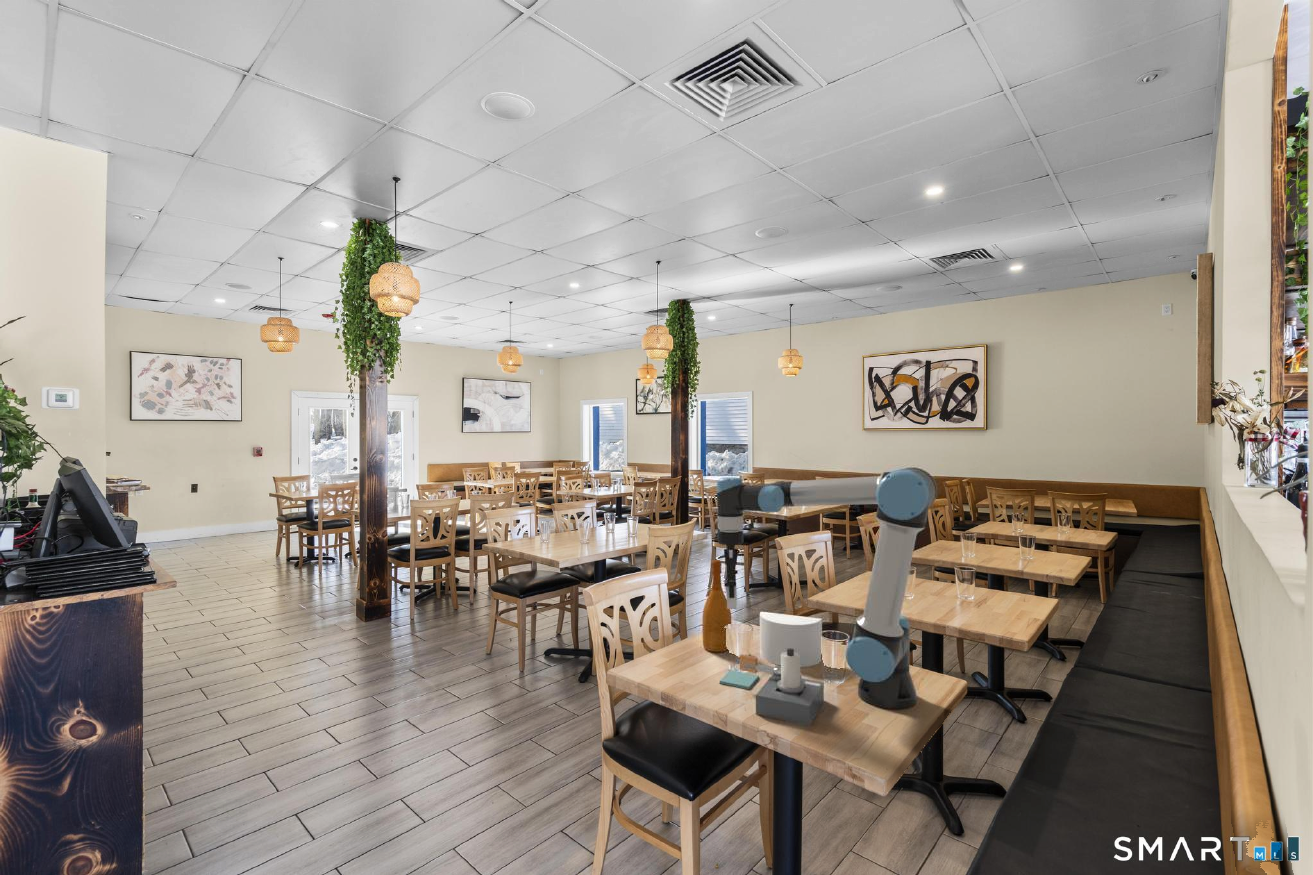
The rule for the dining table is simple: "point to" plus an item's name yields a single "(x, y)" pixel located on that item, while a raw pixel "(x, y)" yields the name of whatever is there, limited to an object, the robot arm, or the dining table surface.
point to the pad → (739, 679)
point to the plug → (790, 673)
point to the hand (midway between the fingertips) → (731, 602)
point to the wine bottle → (715, 614)
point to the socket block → (790, 701)
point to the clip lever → (758, 666)
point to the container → (790, 637)
